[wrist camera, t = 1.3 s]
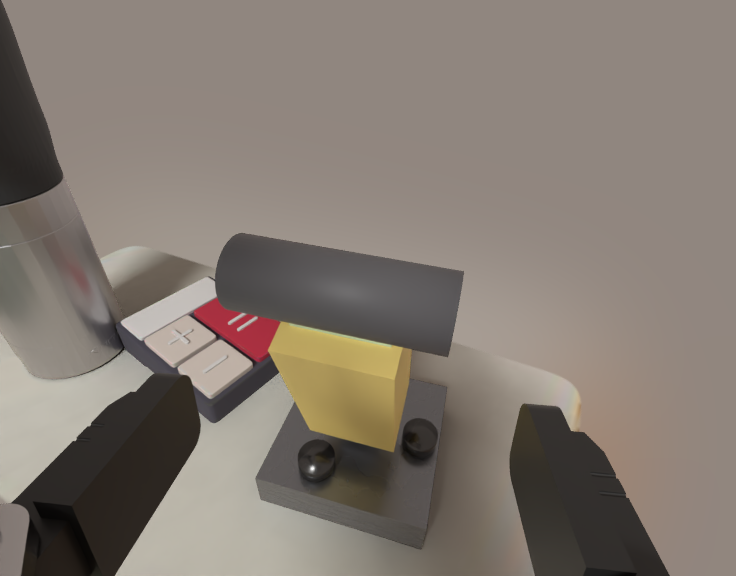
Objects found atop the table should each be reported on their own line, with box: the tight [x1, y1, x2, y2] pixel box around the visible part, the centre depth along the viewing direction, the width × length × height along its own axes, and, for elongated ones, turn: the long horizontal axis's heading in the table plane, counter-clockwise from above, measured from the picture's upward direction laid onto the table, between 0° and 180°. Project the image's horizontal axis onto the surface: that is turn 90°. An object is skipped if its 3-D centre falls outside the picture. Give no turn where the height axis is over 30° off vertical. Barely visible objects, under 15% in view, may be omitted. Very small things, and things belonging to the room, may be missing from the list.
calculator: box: [116, 277, 281, 423], centre depth 41 cm, size 11×4×15 cm
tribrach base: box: [256, 379, 447, 549], centre depth 32 cm, size 12×12×4 cm
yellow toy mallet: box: [215, 233, 464, 452], centre depth 24 cm, size 10×5×18 cm, turn 75°
